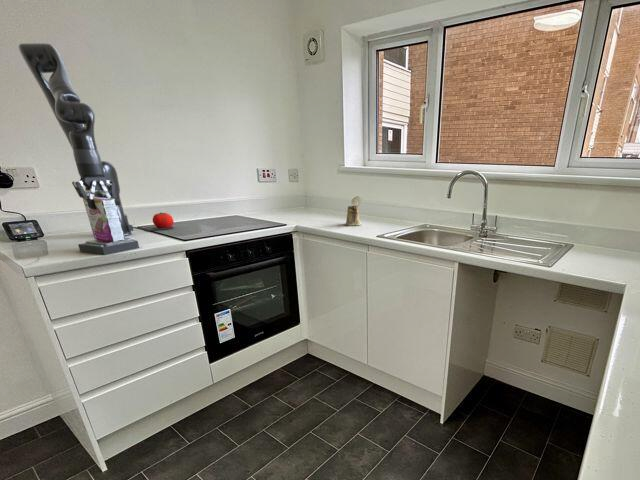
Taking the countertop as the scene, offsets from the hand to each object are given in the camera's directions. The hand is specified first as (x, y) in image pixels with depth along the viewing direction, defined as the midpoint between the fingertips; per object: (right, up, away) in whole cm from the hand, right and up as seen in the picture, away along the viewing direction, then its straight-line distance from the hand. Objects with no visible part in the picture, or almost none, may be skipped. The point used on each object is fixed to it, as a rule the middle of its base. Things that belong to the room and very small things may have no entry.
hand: (101, 208), depth 137 cm
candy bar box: (-1, -12, +5) cm, 13 cm away
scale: (-1, -15, +5) cm, 16 cm away
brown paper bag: (+89, +10, +79) cm, 120 cm away
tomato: (-9, +2, +50) cm, 51 cm away
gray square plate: (0, -12, +5) cm, 13 cm away
